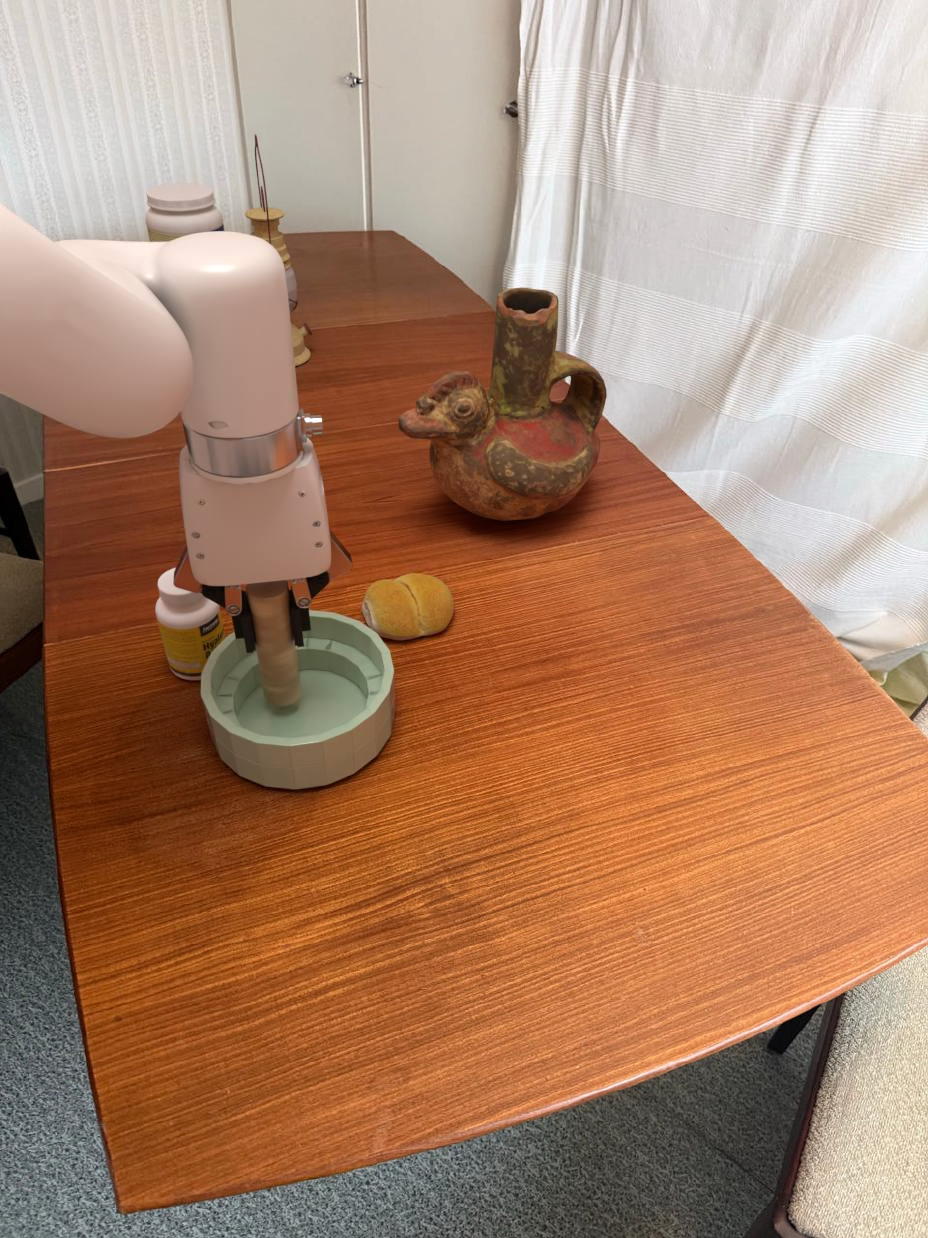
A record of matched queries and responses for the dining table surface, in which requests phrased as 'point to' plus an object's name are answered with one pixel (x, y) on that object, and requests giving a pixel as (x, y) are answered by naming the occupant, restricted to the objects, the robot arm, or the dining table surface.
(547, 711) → the dining table surface
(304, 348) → the lantern
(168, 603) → the supplement bottle
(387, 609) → the bread roll
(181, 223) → the supplement tub
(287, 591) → the stirring stick
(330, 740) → the bowl
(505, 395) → the ceramic vessel
